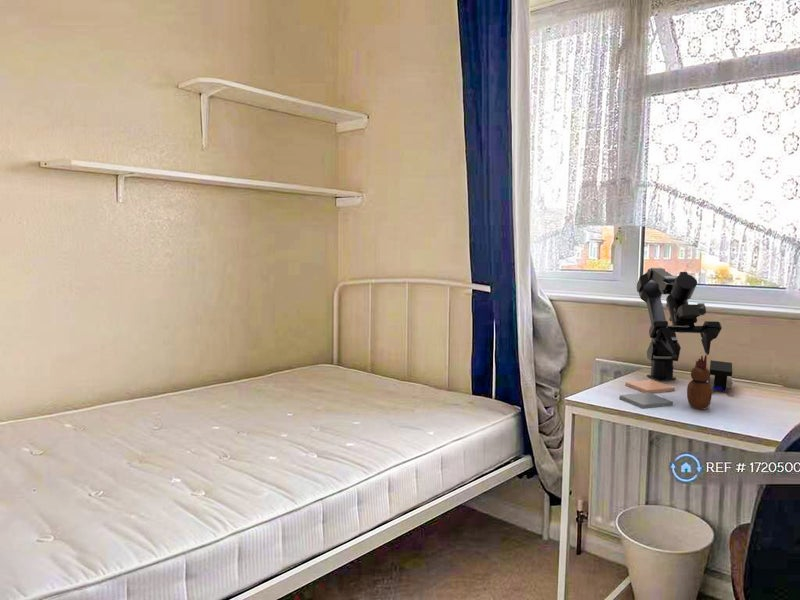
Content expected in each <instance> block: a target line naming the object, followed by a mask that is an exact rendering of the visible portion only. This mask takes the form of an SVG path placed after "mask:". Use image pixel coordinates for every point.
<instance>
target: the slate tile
mask: <svg viewBox="0 0 800 600" xmlns="http://www.w3.org/2000/svg"><path fill="white" fill-rule="evenodd" d="M619 400H622V401H624V402H626V401H627V403H629V404H632V405H634V406H636V407H638V408H641V409H648V408H657V407H668V406H673V405H674V401H673V400H670V399H668V398H666V397H661V396H659V395H656V394H655V393H649V392H647V393H644V392H639V393H637V392H636V393H630V394H629V393H628V394H619Z"/></svg>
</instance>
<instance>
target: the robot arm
mask: <svg viewBox="0 0 800 600" xmlns="http://www.w3.org/2000/svg"><path fill="white" fill-rule="evenodd" d="M697 285H698V280H697V278H695V277H694V276H693V275H691V274H689V273H688V271H680V272H679V274H678V275H673V274H671V273H670V272H668V271H666V269H665V268H662V267H650V268H648V269H647V271H646V272H645V273H643V274H642V275H640V276H639V278H638V280H637V283H636V292H637V293H638V294H639V299H640V300H642V301H643V302H645V303H646V307H647V311H648V316H649V320H650V324H651V325H650V326H649V329H648V334H649V338H651V341H650V344H649V346H648V349H647V350H646V357H647V358H646V359H648V360H649V361H651V367H650V368H651V370H650V372H651V373H649V374H647V375H646V376H647V377H648V378H651V379H653V380H656V381H659V382H661V381H672V380H677V377H675V376H674V365H673V364H674V362H678V361H679V360H680V359H679V358H680V353H681V349H682V348H681V346H680V345H681V344H680V342H678V340H679V339H678V338H677V333H679V334H700V337H701V343H702V347H703V350H704V353H705V355H707V356H709V354H710V352H711V351H710V349H711V342H713V340H715V339H717V337H718V336H719V334H720V332H721V331H722V329H723V327H722V324H721V322H720V321H717V320H705V321H704V323H703V324H702V325H695V324H697V322H698V317H701V316H704V315H705V314H706V313H707V308H706V305H705V303H704V302H703V303H702V302H697V304H689V301H688V300H690V299H692V296H693V294H694V292H695V290H696V288H697ZM664 295H666V299H665V300H666V304H665V305H666V306H665V307H666V308H668V313H669V321H670V322H671V324H669V322H668V321H667V319H666V314H665V310H664V307H663V302H662V296H664Z"/></svg>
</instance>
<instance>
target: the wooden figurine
mask: <svg viewBox="0 0 800 600" xmlns="http://www.w3.org/2000/svg"><path fill="white" fill-rule="evenodd" d="M707 356H708V355H706V354H705V355H704V356H703V355H701V356H700V358H698V360H696V361H695V366H694V367H693V368H691V371H690V377H691V380H690V381H689V382H688V384H687V389H686V396H687V401H688V404H689V405H688V406H690V407H692V408H693V409H697V410H706V409H708V407H709V406H710V405H711V401H712V395H713V394H712V393H713V388H712V387H711V386H710V384H709V383H708V380H709V378H710V369H709V368H708V367H707V359H708V358H707Z"/></svg>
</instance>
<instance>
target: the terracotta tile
mask: <svg viewBox="0 0 800 600" xmlns="http://www.w3.org/2000/svg"><path fill="white" fill-rule="evenodd" d="M624 383H625V384H624V385H625V386H626V387H628V388H631V389H632V390H633V389H634V390H635V391H636V390H637V391H638V392H639V391H640V393H647V392H649V393H652V394H657V393H664V392H674V391H675V390H676V389H675V387H674V386H672V385H669V384H665V383H663V382H661V381H658V380H655V379H644V380H634V381H625V382H624Z"/></svg>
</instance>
